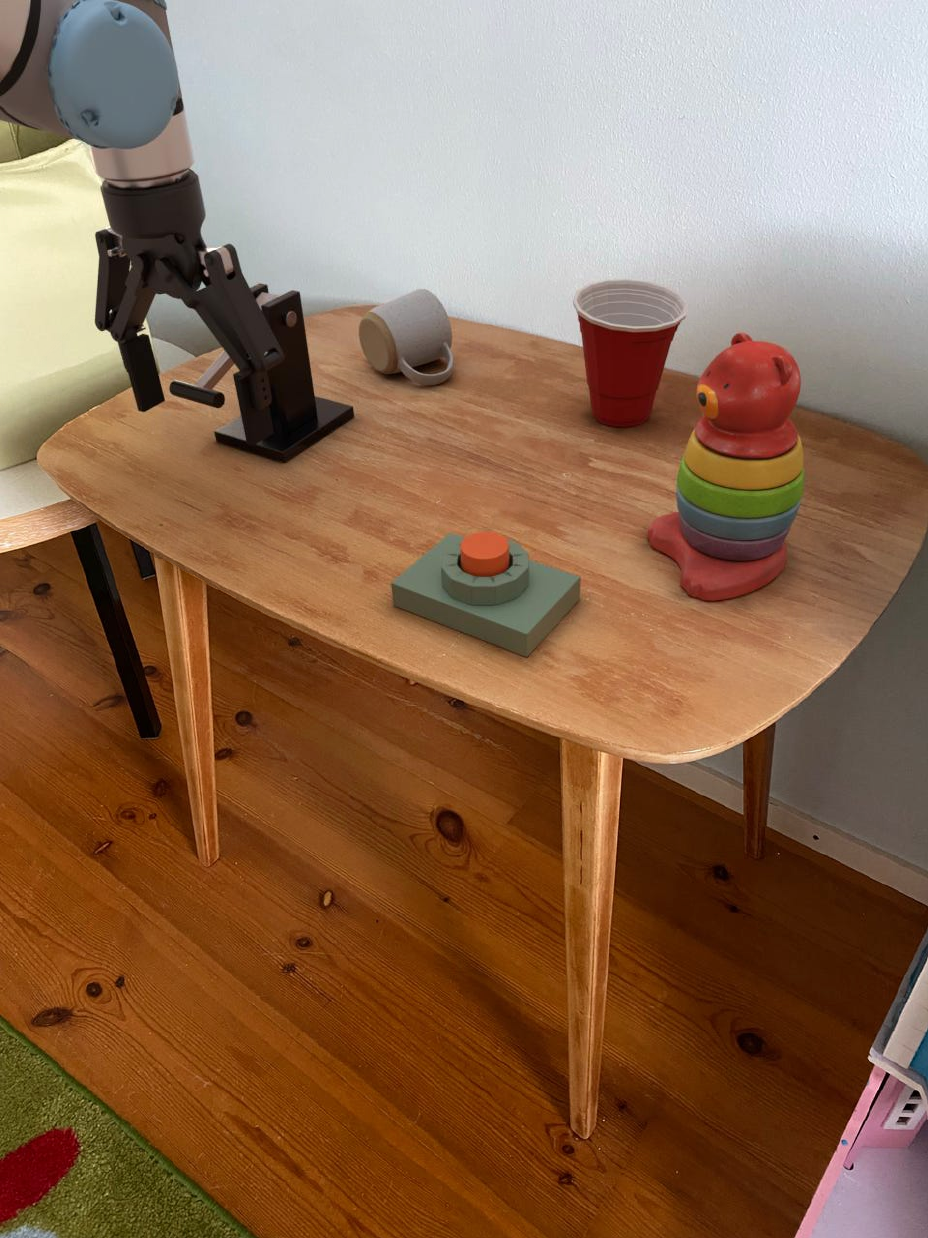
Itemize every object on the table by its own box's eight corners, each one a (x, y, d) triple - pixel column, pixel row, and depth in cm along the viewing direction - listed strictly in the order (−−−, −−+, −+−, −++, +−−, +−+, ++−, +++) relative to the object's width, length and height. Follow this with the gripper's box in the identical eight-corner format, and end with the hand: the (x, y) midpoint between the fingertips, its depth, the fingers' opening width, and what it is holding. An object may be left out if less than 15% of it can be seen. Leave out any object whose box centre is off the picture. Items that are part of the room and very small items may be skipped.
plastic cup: (627, 452, 93) (636, 330, 86) (546, 415, 100) (548, 299, 92) (699, 414, 99) (714, 296, 91) (618, 382, 105) (625, 269, 98)
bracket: (284, 463, 94) (260, 323, 86) (215, 441, 98) (186, 306, 90) (354, 416, 101) (339, 283, 93) (287, 398, 105) (266, 268, 97)
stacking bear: (639, 531, 83) (657, 326, 72) (749, 511, 84) (783, 308, 73) (694, 606, 74) (724, 388, 63) (815, 583, 76) (865, 366, 65)
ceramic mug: (357, 365, 111) (350, 298, 106) (415, 345, 115) (411, 279, 110) (413, 397, 104) (408, 328, 100) (472, 374, 108) (471, 306, 104)
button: (451, 569, 73) (450, 549, 72) (478, 545, 76) (477, 526, 74) (492, 583, 72) (492, 564, 70) (518, 559, 74) (518, 540, 73)
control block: (393, 605, 76) (388, 563, 73) (451, 554, 81) (448, 513, 79) (527, 657, 70) (527, 614, 68) (580, 599, 76) (582, 556, 73)
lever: (220, 415, 87) (208, 395, 85) (176, 402, 90) (164, 383, 88) (302, 319, 93) (293, 298, 91) (258, 309, 95) (248, 288, 93)
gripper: (302, 179, 73) (337, 434, 87) (78, 147, 84) (139, 378, 98) (233, 206, 68) (281, 473, 82) (5, 168, 79) (80, 409, 93)
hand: (204, 422), depth 90 cm, fingers open, 13 cm apart
